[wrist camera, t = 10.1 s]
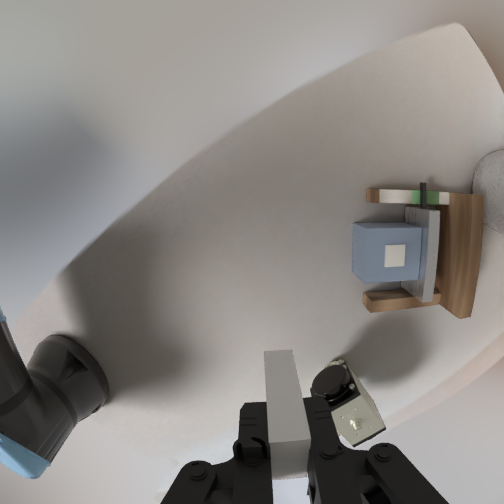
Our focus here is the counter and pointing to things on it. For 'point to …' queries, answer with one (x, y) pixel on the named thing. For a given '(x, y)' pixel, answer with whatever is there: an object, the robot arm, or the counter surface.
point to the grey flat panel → (424, 248)
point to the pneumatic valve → (348, 403)
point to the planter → (491, 188)
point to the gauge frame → (441, 252)
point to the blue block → (386, 251)
